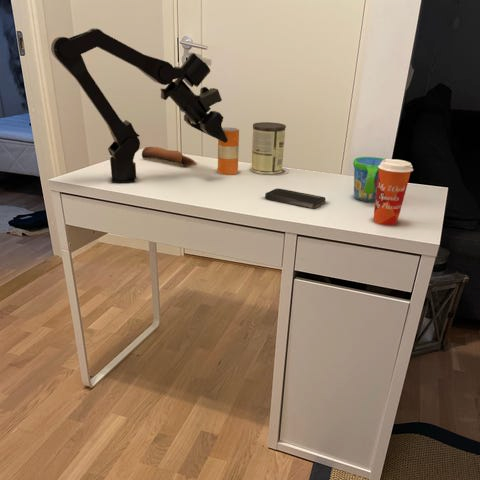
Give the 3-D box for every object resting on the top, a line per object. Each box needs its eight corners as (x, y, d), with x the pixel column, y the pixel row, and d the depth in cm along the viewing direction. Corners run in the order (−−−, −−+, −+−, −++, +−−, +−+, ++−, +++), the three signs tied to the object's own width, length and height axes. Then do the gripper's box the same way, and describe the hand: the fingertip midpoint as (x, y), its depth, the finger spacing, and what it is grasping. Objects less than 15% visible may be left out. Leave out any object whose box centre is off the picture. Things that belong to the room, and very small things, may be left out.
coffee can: (253, 166, 163) (255, 121, 156) (283, 168, 162) (287, 123, 155) (248, 173, 155) (250, 126, 148) (280, 175, 153) (284, 128, 146)
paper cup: (366, 223, 116) (377, 163, 109) (371, 214, 122) (381, 157, 115) (400, 228, 114) (413, 167, 107) (403, 219, 120) (415, 161, 113)
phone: (277, 188, 136) (327, 197, 129) (276, 192, 137) (326, 201, 130) (263, 194, 130) (315, 204, 124) (263, 198, 131) (314, 208, 124)
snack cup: (383, 209, 127) (390, 169, 121) (343, 203, 130) (348, 164, 125) (390, 194, 139) (397, 157, 134) (353, 189, 142) (359, 153, 137)
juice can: (228, 175, 151) (230, 131, 144) (213, 172, 154) (213, 128, 148) (242, 172, 155) (243, 129, 149) (226, 168, 159) (227, 126, 152)
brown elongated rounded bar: (198, 161, 163) (191, 145, 158) (187, 175, 161) (180, 159, 156) (157, 154, 172) (150, 138, 166) (146, 167, 169) (138, 151, 164)
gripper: (217, 80, 131) (251, 123, 141) (193, 75, 145) (226, 114, 155) (189, 112, 132) (226, 152, 142) (168, 103, 146) (203, 141, 156)
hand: (220, 138), depth 149 cm, fingers open, 9 cm apart
